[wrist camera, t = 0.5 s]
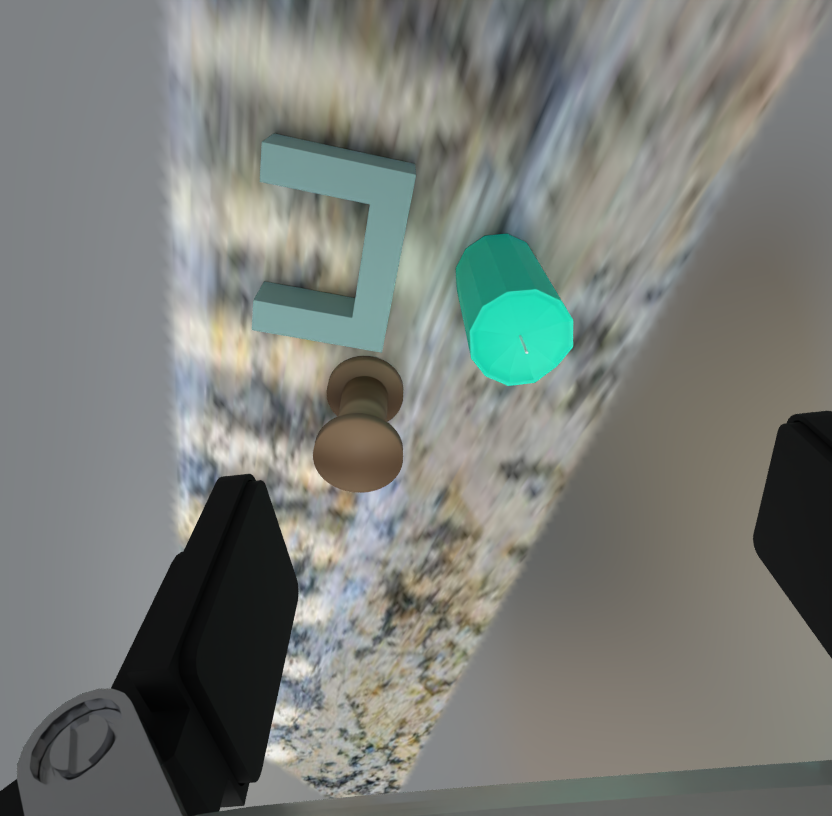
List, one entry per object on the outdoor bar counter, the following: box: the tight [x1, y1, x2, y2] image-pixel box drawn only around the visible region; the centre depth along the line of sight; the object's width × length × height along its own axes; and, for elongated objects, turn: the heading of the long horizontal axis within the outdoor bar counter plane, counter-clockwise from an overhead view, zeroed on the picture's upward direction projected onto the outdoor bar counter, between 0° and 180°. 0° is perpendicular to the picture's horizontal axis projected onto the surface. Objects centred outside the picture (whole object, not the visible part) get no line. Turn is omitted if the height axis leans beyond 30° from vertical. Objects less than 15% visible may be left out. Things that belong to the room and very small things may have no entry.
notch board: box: [252, 134, 416, 352], centre depth 38 cm, size 12×9×4 cm
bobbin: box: [313, 356, 403, 493], centre depth 42 cm, size 6×6×9 cm
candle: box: [456, 234, 573, 386], centre depth 36 cm, size 6×6×12 cm
